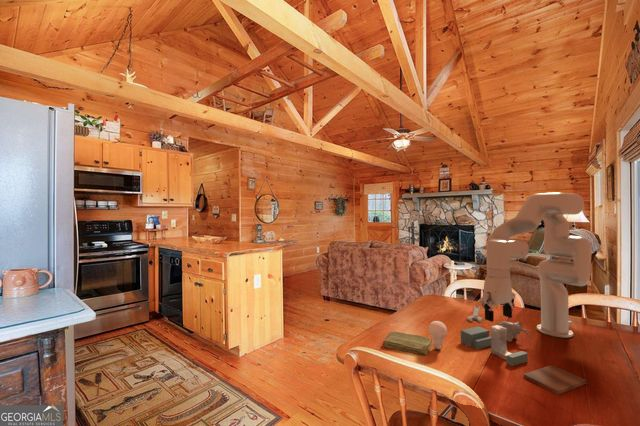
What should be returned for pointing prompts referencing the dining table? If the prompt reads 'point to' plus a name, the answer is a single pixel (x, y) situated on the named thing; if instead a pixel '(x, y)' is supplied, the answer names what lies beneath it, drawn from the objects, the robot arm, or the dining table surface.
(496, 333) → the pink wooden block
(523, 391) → the dining table surface
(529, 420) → the dining table surface
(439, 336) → the light bulb
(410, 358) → the dining table surface
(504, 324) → the grey monster figurine
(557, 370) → the walnut board
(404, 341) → the washcloth
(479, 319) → the adjustable wrench
